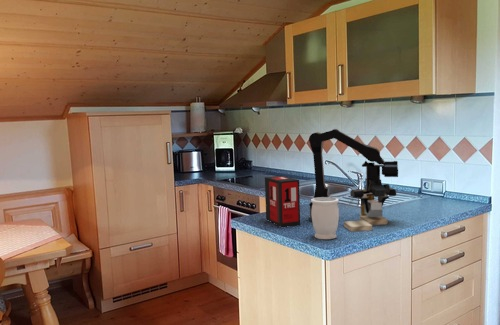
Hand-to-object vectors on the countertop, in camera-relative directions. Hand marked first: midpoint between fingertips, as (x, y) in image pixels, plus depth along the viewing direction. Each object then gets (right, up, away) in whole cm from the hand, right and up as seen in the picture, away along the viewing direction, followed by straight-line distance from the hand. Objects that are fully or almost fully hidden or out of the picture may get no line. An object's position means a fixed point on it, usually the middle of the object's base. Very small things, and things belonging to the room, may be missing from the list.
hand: (373, 212), depth 192 cm
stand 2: (0, -4, 0) cm, 4 cm away
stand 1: (-9, -6, -9) cm, 14 cm away
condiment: (+2, -3, +14) cm, 15 cm away
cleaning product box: (-39, -6, +6) cm, 40 cm away
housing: (0, -1, 0) cm, 1 cm away
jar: (-24, -8, -20) cm, 32 cm away
